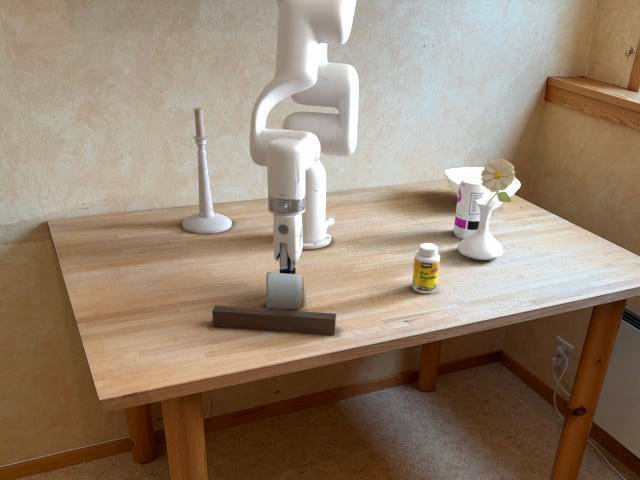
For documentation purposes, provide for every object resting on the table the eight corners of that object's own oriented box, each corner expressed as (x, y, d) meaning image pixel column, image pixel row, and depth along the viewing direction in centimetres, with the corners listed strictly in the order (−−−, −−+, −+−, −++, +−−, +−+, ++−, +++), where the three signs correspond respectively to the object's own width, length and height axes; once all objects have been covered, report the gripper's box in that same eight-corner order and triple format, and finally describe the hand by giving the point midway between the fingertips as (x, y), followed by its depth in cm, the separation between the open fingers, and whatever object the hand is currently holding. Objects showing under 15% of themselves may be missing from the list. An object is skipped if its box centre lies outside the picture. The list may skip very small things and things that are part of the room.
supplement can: (449, 237, 183) (456, 182, 175) (458, 228, 189) (464, 174, 182) (479, 243, 180) (487, 187, 173) (487, 233, 187) (494, 178, 179)
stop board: (216, 320, 137) (215, 305, 136) (335, 329, 137) (336, 313, 135) (213, 326, 135) (212, 311, 133) (334, 335, 135) (335, 319, 133)
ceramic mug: (306, 315, 141) (306, 280, 138) (266, 316, 140) (265, 281, 136) (303, 293, 150) (302, 260, 147) (265, 294, 149) (264, 261, 145)
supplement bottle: (415, 295, 152) (419, 251, 147) (409, 284, 156) (412, 242, 151) (439, 293, 153) (444, 250, 148) (432, 283, 158) (436, 241, 152)
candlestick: (172, 224, 182) (160, 105, 166) (211, 213, 190) (203, 99, 175) (202, 237, 175) (192, 115, 159) (241, 225, 183) (235, 108, 168)
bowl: (434, 195, 213) (437, 167, 209) (496, 193, 218) (500, 166, 214) (457, 218, 196) (461, 188, 192) (524, 215, 201) (529, 186, 197)
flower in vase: (447, 252, 174) (458, 152, 161) (479, 243, 180) (492, 146, 167) (484, 270, 165) (499, 166, 152) (516, 260, 172) (533, 160, 159)
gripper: (300, 216, 133) (300, 301, 142) (309, 192, 146) (309, 272, 155) (261, 214, 133) (264, 299, 142) (274, 190, 146) (276, 270, 155)
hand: (287, 285), depth 149 cm, fingers closed
